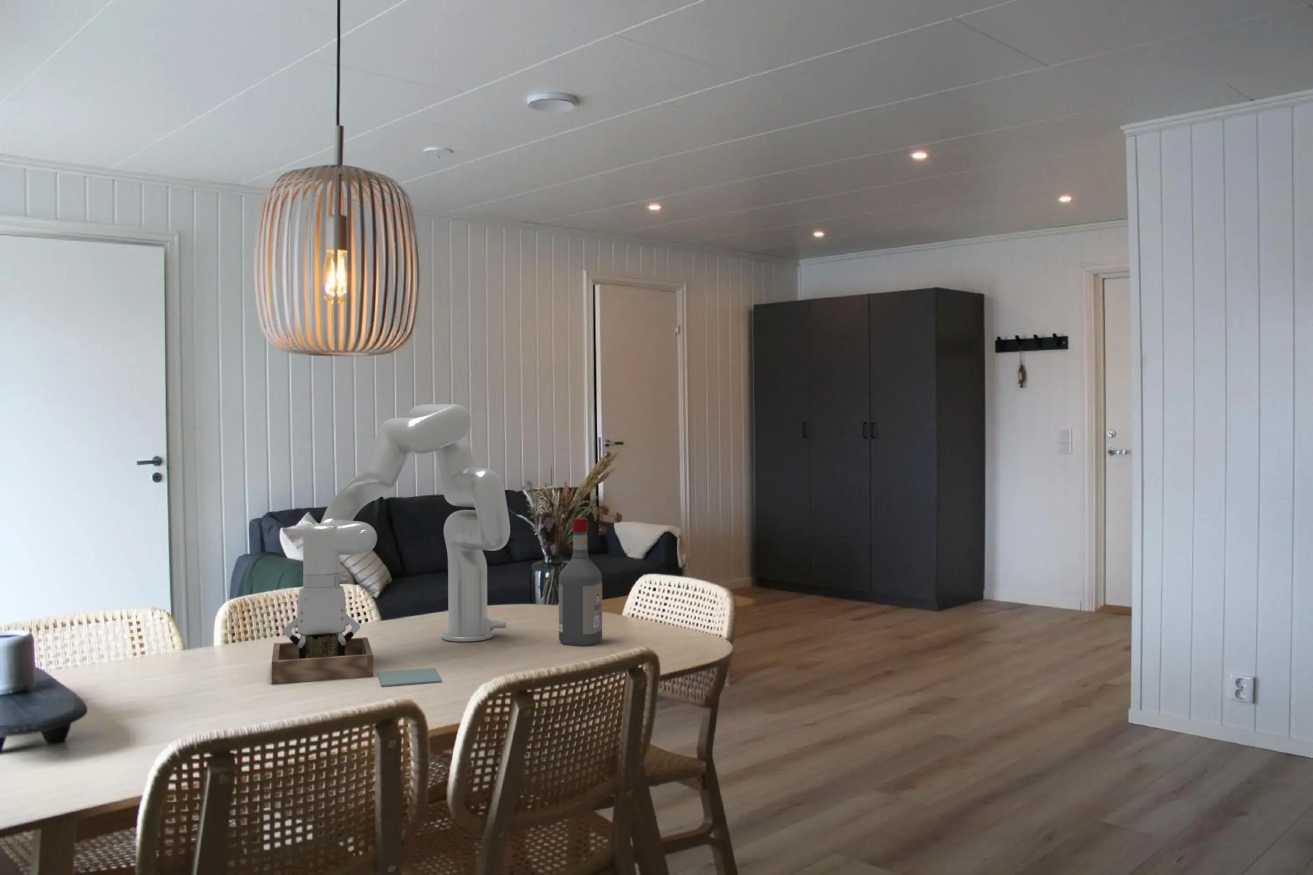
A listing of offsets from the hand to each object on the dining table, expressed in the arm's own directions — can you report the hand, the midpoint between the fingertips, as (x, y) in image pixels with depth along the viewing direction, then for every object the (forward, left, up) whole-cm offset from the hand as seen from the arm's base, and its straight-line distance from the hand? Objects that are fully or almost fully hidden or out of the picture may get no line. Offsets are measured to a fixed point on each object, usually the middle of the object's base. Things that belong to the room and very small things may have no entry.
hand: (322, 663), depth 227 cm
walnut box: (0, 0, -1) cm, 1 cm away
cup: (0, 0, -2) cm, 2 cm away
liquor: (-60, -10, -2) cm, 61 cm away
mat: (-17, +14, -1) cm, 22 cm away
